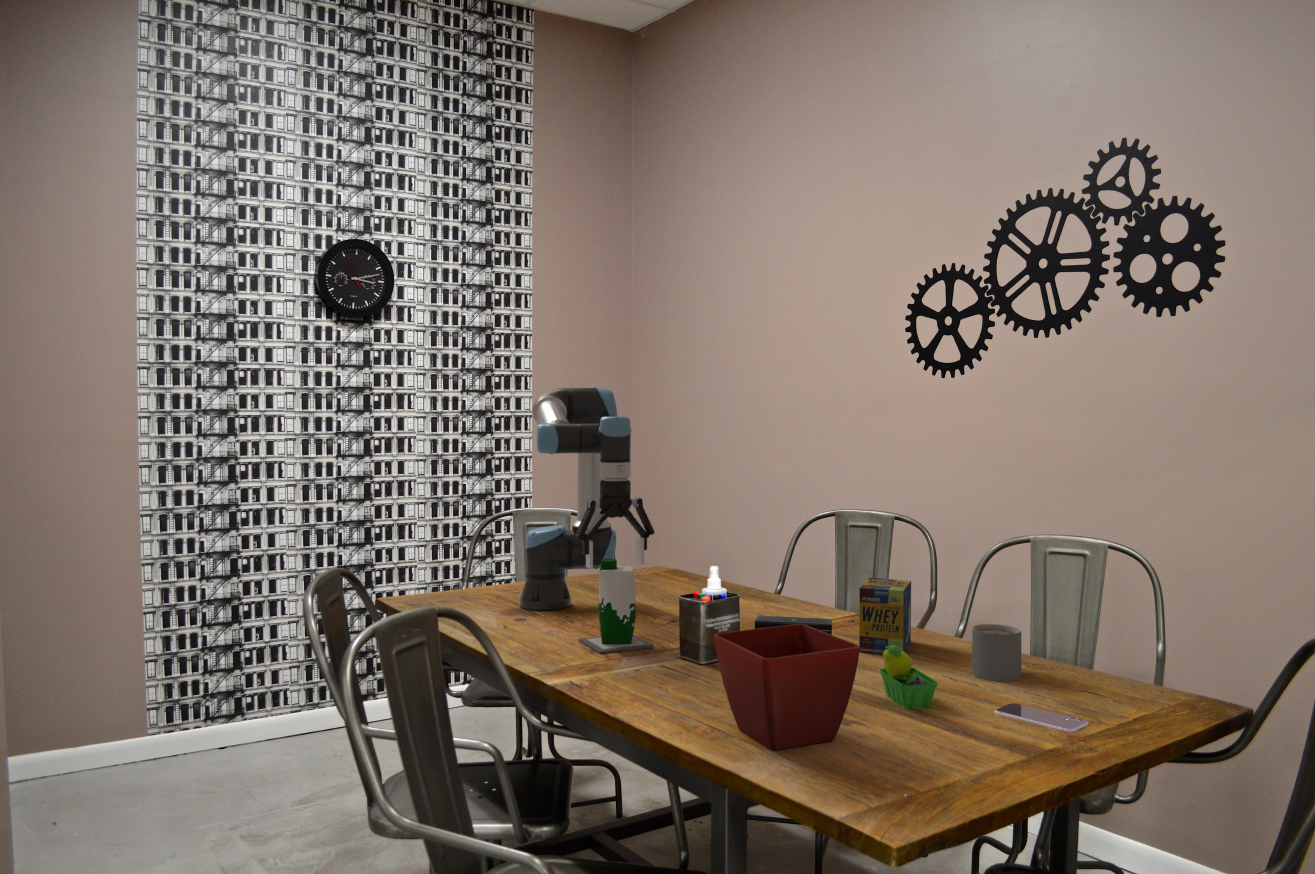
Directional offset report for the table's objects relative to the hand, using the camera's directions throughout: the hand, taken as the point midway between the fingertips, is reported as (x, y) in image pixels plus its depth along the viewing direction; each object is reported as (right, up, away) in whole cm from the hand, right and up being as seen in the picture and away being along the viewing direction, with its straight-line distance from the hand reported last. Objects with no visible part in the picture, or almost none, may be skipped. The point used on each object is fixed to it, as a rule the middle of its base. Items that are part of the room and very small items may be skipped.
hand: (615, 565), depth 227 cm
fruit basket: (+59, -20, -46) cm, 77 cm away
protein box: (+66, -20, -3) cm, 69 cm away
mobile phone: (+81, -21, -56) cm, 101 cm away
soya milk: (+1, -19, +1) cm, 19 cm away
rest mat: (0, -19, 0) cm, 19 cm away
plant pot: (+33, -21, -65) cm, 76 cm away
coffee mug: (+85, -20, -27) cm, 91 cm away
